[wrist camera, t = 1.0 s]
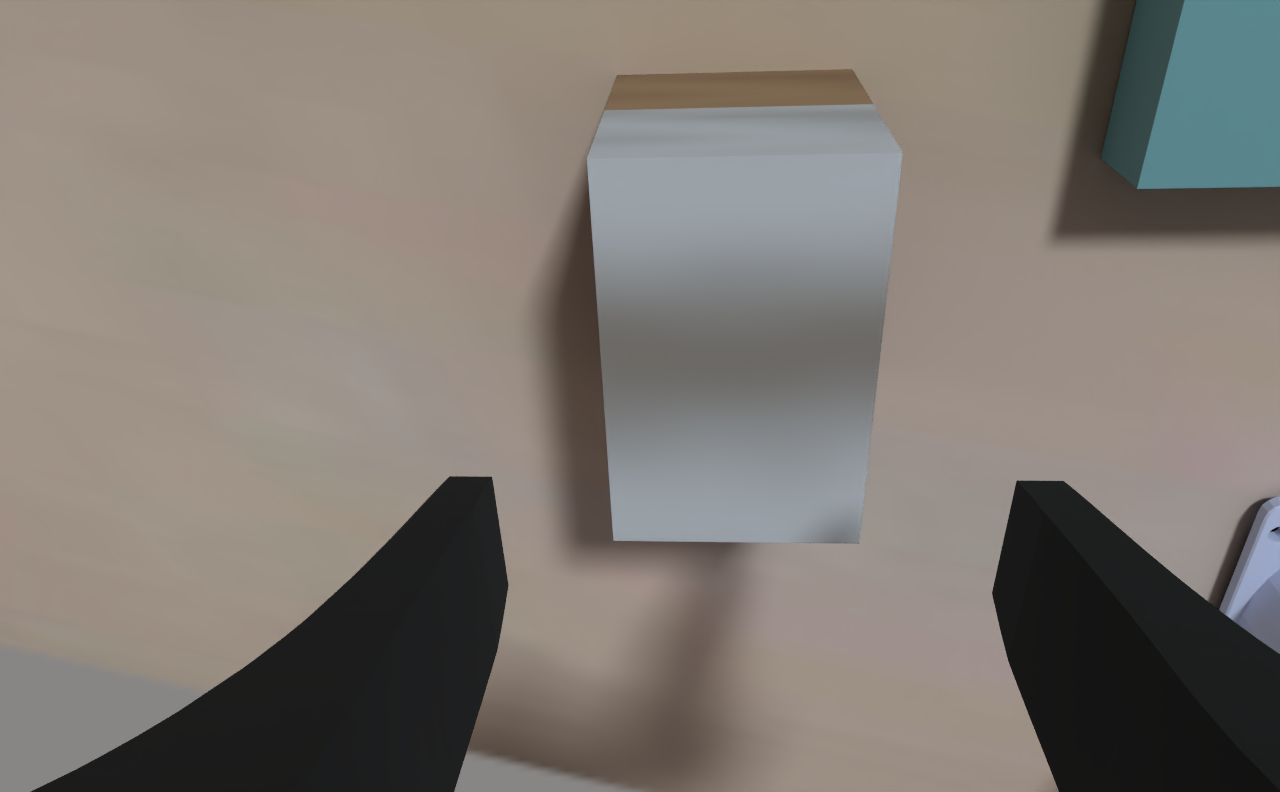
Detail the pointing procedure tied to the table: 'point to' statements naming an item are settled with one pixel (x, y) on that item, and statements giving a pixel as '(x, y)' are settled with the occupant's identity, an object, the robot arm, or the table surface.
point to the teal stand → (1198, 96)
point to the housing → (741, 301)
